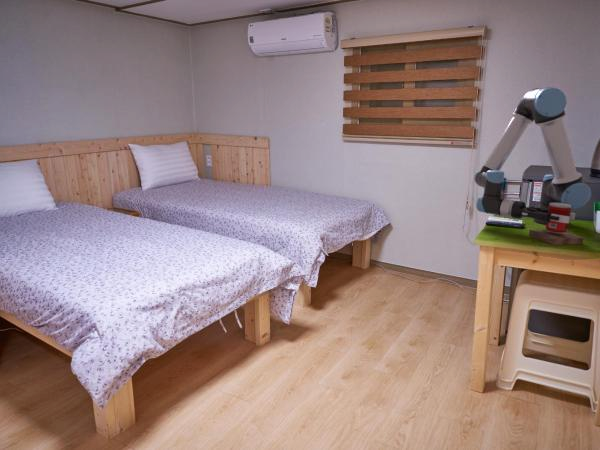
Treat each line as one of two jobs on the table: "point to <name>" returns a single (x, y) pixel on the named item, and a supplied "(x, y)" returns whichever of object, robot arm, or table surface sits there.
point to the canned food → (559, 210)
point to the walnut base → (555, 237)
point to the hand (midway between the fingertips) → (571, 218)
